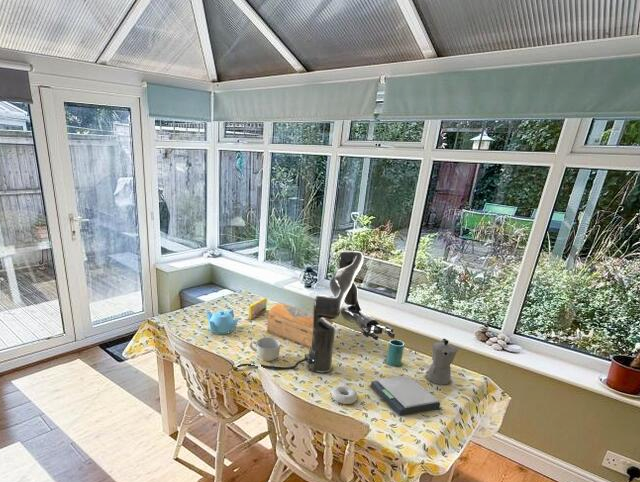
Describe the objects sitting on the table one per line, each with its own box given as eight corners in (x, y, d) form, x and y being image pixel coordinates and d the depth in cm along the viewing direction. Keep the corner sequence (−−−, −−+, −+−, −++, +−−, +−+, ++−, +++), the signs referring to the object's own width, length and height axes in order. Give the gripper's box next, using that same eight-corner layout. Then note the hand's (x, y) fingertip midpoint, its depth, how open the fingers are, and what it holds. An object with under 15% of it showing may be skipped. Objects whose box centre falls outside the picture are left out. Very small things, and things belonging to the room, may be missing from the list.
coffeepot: (451, 389, 165) (460, 349, 158) (426, 384, 168) (434, 345, 162) (449, 371, 179) (457, 333, 172) (426, 367, 182) (433, 330, 175)
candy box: (251, 320, 227) (251, 306, 224) (248, 319, 228) (248, 305, 225) (266, 311, 240) (266, 297, 237) (263, 310, 241) (263, 297, 238)
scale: (399, 415, 149) (400, 408, 148) (370, 386, 166) (371, 379, 165) (439, 408, 153) (440, 401, 152) (406, 380, 171) (408, 374, 170)
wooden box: (333, 339, 207) (335, 313, 201) (314, 350, 195) (316, 323, 190) (285, 322, 225) (286, 298, 220) (266, 331, 214) (267, 307, 208)
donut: (352, 390, 163) (327, 391, 163) (353, 383, 162) (328, 383, 161) (360, 405, 154) (334, 406, 153) (362, 397, 153) (335, 398, 152)
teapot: (239, 335, 210) (239, 315, 205) (209, 337, 206) (209, 317, 202) (233, 323, 223) (233, 304, 219) (206, 325, 220) (205, 306, 216)
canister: (391, 367, 181) (394, 346, 177) (383, 360, 187) (386, 340, 183) (403, 365, 183) (407, 345, 179) (395, 358, 189) (398, 339, 185)
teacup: (283, 355, 190) (283, 339, 187) (274, 365, 181) (274, 349, 178) (255, 349, 195) (255, 334, 192) (245, 359, 186) (246, 343, 183)
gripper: (355, 318, 200) (372, 331, 186) (381, 315, 204) (400, 328, 190) (353, 331, 203) (370, 346, 189) (379, 329, 207) (397, 343, 192)
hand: (385, 337), depth 189 cm, fingers open, 8 cm apart
